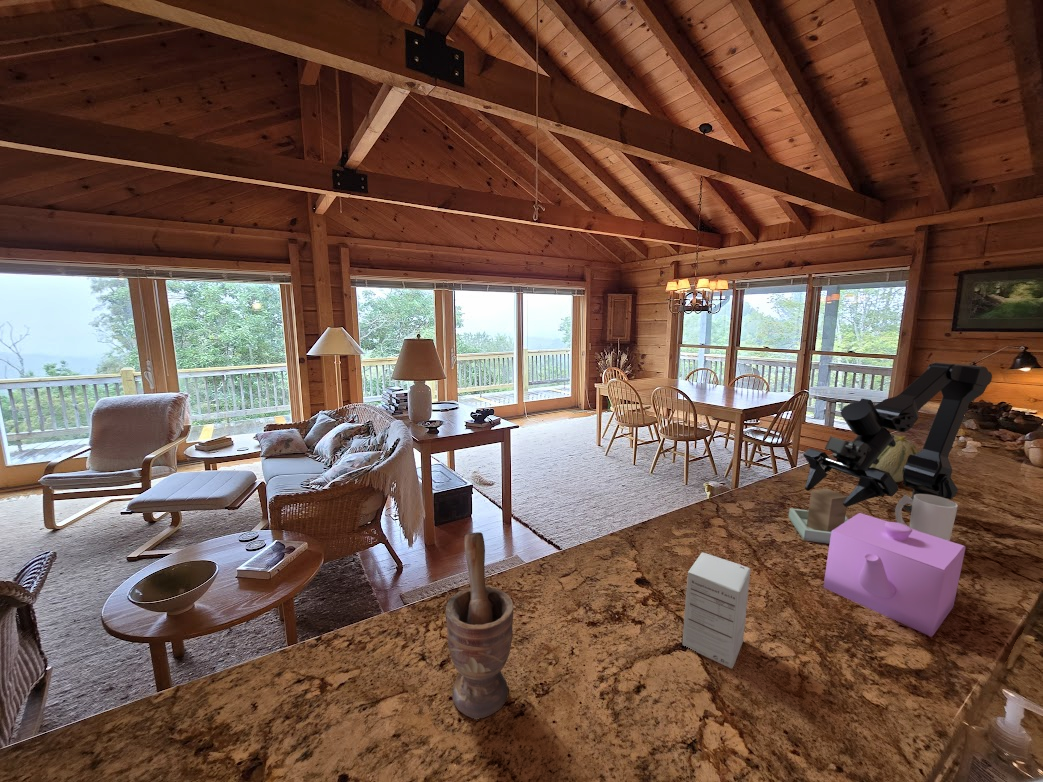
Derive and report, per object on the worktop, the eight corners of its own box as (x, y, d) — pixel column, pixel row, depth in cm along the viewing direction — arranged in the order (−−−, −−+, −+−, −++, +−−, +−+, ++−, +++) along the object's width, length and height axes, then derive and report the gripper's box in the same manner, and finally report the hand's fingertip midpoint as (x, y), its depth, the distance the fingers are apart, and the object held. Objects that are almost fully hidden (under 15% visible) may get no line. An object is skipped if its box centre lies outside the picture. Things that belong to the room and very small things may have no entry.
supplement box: (695, 620, 71) (701, 550, 69) (744, 641, 67) (752, 567, 64) (680, 645, 66) (686, 570, 63) (732, 671, 61) (740, 591, 59)
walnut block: (806, 526, 102) (811, 490, 101) (822, 523, 104) (827, 488, 102) (826, 536, 98) (831, 499, 96) (842, 533, 99) (848, 496, 98)
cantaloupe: (854, 468, 144) (860, 425, 141) (912, 478, 135) (920, 432, 132) (856, 482, 132) (863, 435, 129) (920, 493, 123) (929, 443, 121)
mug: (955, 558, 90) (966, 505, 88) (934, 563, 88) (944, 509, 86) (901, 535, 100) (909, 486, 98) (881, 539, 98) (889, 489, 96)
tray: (788, 517, 108) (789, 508, 108) (843, 524, 105) (844, 514, 104) (803, 540, 97) (805, 530, 97) (865, 548, 94) (867, 538, 93)
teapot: (805, 601, 76) (815, 528, 74) (859, 558, 90) (869, 495, 88) (917, 657, 64) (934, 572, 61) (960, 597, 78) (975, 525, 75)
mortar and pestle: (430, 668, 61) (426, 539, 58) (484, 644, 66) (483, 523, 62) (464, 735, 51) (461, 584, 48) (525, 701, 56) (526, 562, 52)
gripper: (813, 416, 106) (773, 462, 105) (897, 436, 89) (850, 492, 87) (833, 444, 110) (794, 489, 109) (917, 469, 92) (872, 523, 91)
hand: (824, 497), depth 99 cm, fingers open, 9 cm apart
